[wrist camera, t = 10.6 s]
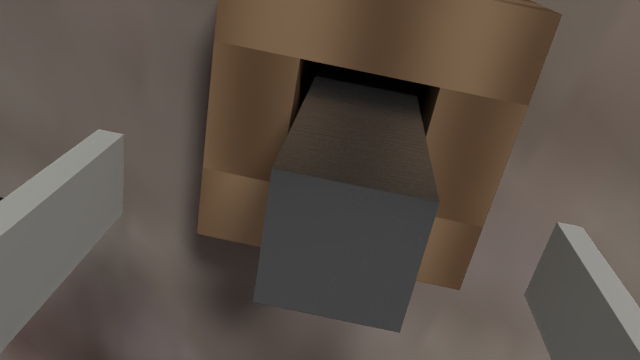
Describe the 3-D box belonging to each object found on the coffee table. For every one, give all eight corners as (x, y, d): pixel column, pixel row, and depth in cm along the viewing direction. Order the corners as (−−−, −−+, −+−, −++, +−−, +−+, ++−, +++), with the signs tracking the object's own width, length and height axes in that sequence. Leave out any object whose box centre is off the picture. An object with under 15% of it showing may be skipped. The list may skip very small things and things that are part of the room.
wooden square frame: (229, 181, 31) (196, 233, 25) (256, -57, 25) (222, -55, 20) (445, 227, 30) (459, 290, 25) (522, -3, 25) (561, 14, 19)
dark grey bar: (313, 130, 29) (252, 302, 15) (326, 51, 27) (271, 168, 13) (391, 145, 29) (399, 332, 15) (410, 68, 27) (439, 202, 13)
